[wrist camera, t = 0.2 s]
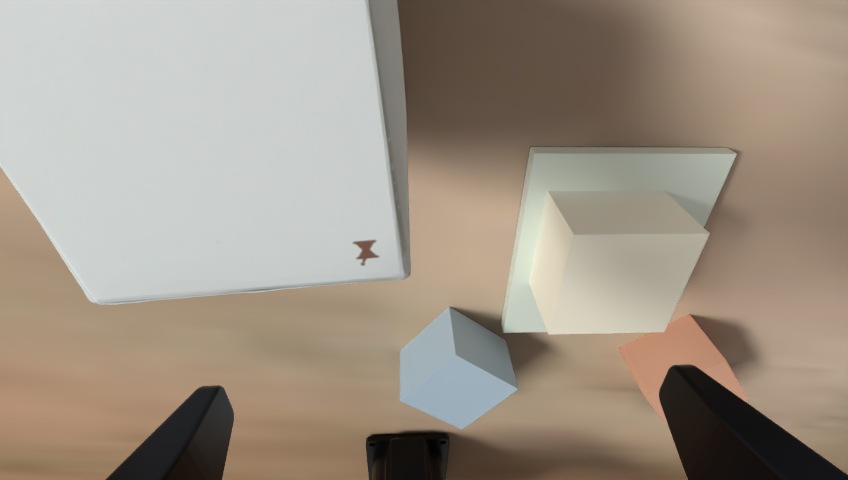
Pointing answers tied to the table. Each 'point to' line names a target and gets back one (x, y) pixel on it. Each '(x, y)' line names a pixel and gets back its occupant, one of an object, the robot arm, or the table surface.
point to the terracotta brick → (676, 359)
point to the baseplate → (604, 171)
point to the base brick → (613, 261)
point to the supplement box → (209, 142)
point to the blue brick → (456, 370)
